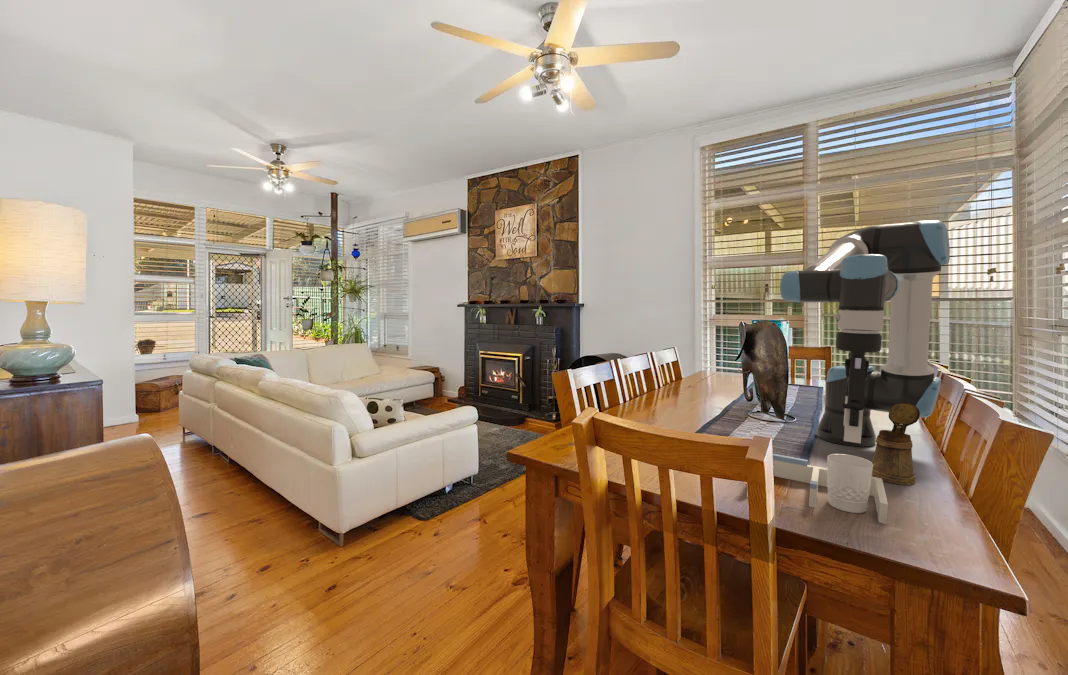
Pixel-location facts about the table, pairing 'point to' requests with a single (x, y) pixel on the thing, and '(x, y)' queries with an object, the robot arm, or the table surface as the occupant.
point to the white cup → (848, 482)
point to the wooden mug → (896, 447)
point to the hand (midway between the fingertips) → (851, 433)
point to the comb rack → (824, 481)
